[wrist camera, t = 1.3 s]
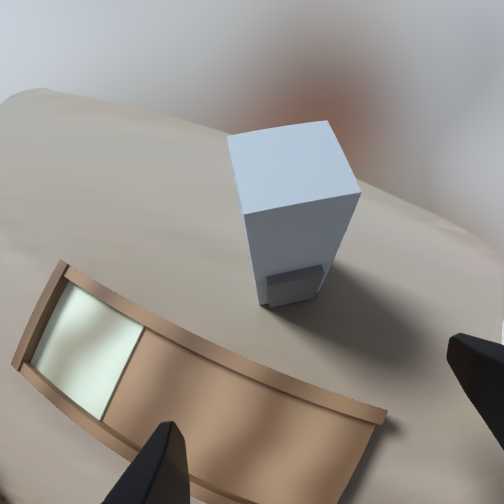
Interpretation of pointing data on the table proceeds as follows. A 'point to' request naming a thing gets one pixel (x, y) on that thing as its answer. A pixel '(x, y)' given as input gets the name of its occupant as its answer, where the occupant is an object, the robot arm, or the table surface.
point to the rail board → (189, 398)
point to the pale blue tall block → (292, 206)
